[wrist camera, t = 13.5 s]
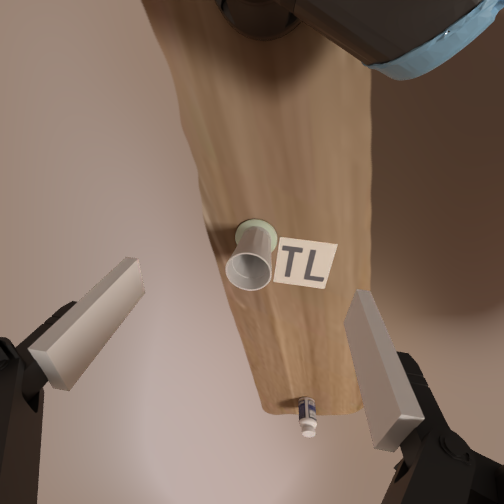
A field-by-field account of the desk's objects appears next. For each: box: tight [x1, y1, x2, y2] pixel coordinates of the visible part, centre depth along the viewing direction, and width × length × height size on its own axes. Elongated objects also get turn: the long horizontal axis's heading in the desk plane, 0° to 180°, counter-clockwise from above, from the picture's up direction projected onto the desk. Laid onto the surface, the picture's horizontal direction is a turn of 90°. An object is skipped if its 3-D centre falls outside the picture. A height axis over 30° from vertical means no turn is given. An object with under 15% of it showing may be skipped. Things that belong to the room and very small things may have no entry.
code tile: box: [273, 237, 338, 289], centre depth 54 cm, size 12×12×1 cm
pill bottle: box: [299, 397, 317, 437], centre depth 77 cm, size 5×5×10 cm
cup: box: [226, 226, 272, 291], centre depth 47 cm, size 8×8×12 cm
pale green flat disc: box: [235, 219, 277, 252], centre depth 52 cm, size 9×9×1 cm
